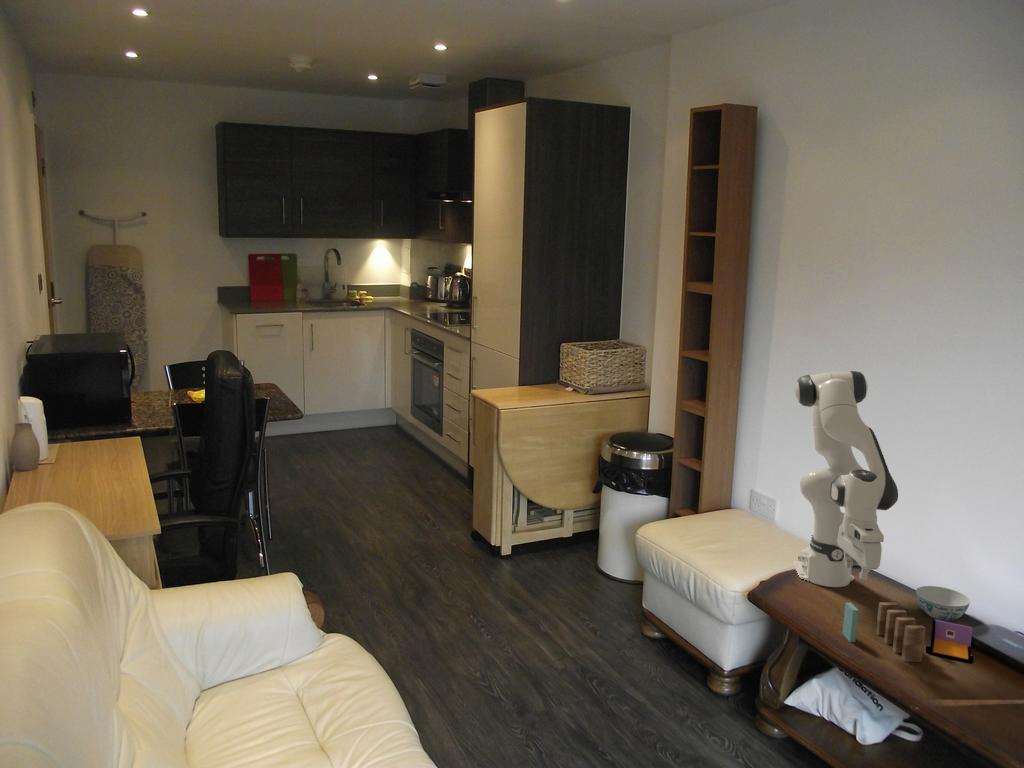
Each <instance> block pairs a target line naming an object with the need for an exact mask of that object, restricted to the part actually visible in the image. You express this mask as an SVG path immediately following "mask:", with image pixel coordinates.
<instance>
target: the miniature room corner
mask: <svg viewBox="0 0 1024 768" xmlns="http://www.w3.org/2000/svg"><path fill="white" fill-rule="evenodd" d="M931 626H932V627H931V633H930V645H926V647H925V654H927V655H930V656H933V657H937V658H942V659H947V660H950V661H954V662H960V663H963V662H964V664H968V663H969V665H972V663H973V664H974V655H973V656H970V655H971V651H970V647H971V645H972V644H971V643H972V637H973V627H972V626H969V625H965V624H958V623H953V622H949V621H943V620H938V619H932V625H931ZM948 632H951V633H953V635H952V634H951V635H950V634H948Z"/></svg>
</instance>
